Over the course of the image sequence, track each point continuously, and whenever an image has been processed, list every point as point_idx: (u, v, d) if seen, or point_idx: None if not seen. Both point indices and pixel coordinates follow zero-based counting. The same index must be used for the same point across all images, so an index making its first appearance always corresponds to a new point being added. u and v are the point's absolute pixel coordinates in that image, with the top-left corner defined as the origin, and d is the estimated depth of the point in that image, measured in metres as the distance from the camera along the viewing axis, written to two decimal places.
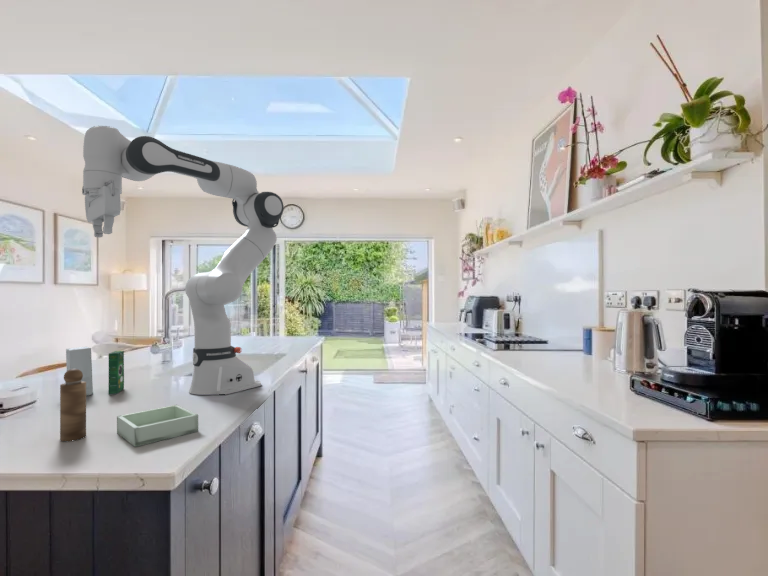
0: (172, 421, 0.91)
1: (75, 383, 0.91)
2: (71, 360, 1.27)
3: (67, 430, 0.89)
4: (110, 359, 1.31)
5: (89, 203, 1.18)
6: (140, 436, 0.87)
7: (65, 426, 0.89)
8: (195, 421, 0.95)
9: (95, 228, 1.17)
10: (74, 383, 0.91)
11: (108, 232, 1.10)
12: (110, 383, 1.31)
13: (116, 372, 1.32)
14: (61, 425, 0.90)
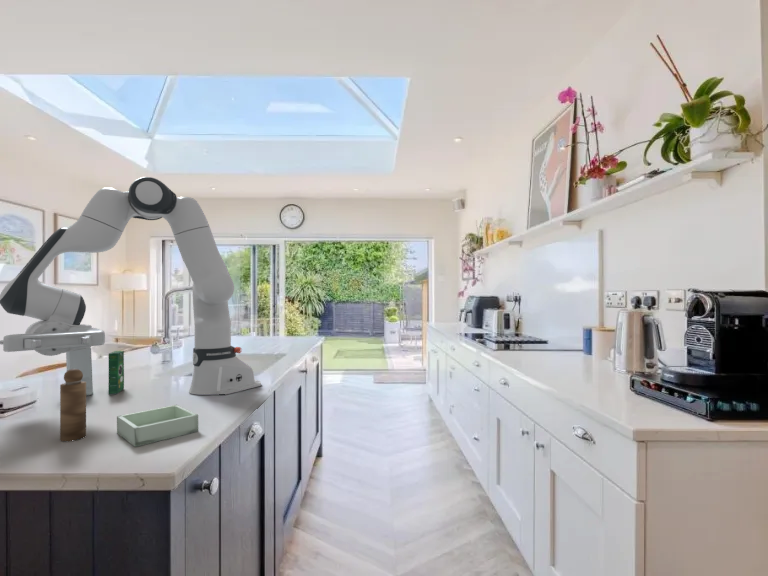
0: (172, 421, 0.91)
1: (75, 383, 0.91)
2: (71, 360, 1.27)
3: (67, 430, 0.89)
4: (110, 359, 1.31)
5: None
6: (140, 436, 0.87)
7: (65, 426, 0.89)
8: (195, 421, 0.95)
9: None
10: (74, 383, 0.91)
11: (33, 344, 0.96)
12: (110, 383, 1.31)
13: (116, 372, 1.32)
14: (61, 425, 0.90)
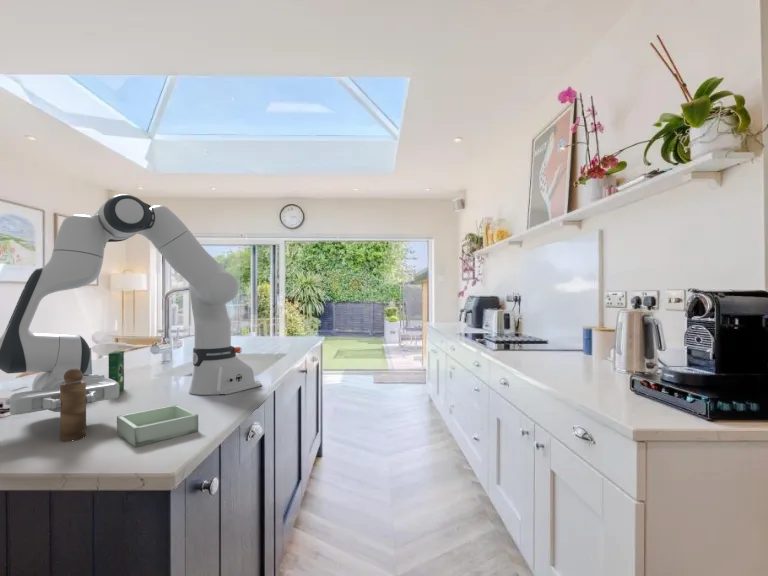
0: (172, 421, 0.91)
1: (75, 383, 0.91)
2: None
3: (67, 430, 0.89)
4: (110, 359, 1.31)
5: None
6: (140, 436, 0.87)
7: (65, 426, 0.89)
8: (195, 421, 0.95)
9: None
10: (74, 383, 0.91)
11: (52, 405, 0.89)
12: None
13: (116, 372, 1.32)
14: (61, 425, 0.90)
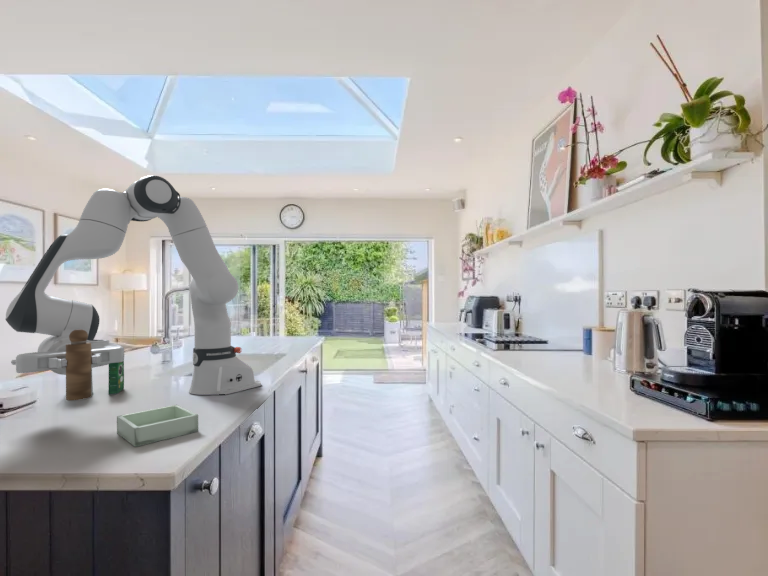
0: (172, 421, 0.91)
1: (80, 343, 0.91)
2: None
3: (72, 389, 0.90)
4: None
5: None
6: (140, 436, 0.87)
7: (71, 385, 0.90)
8: (195, 421, 0.95)
9: None
10: (79, 343, 0.91)
11: (58, 364, 0.89)
12: (110, 383, 1.31)
13: (116, 372, 1.32)
14: (67, 384, 0.90)
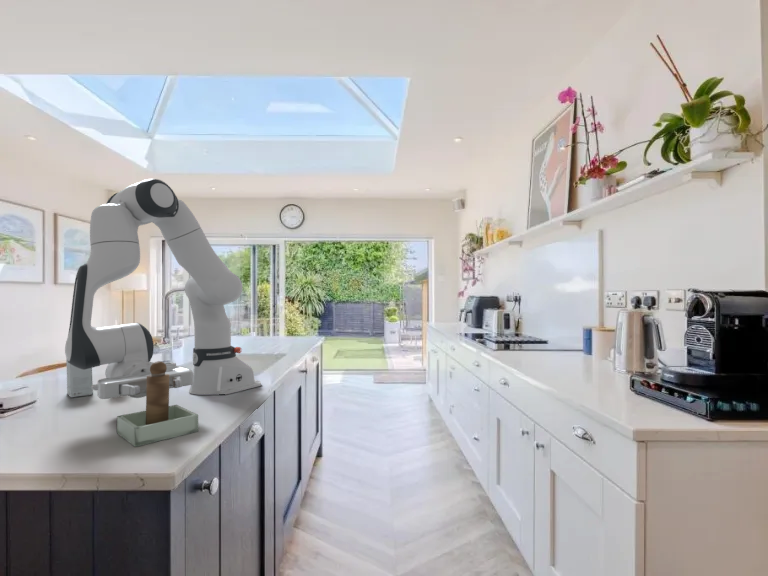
0: (172, 421, 0.91)
1: (160, 375, 0.95)
2: None
3: (153, 420, 0.93)
4: None
5: None
6: (140, 436, 0.87)
7: (152, 416, 0.93)
8: (195, 421, 0.95)
9: None
10: (160, 375, 0.95)
11: (132, 391, 0.91)
12: None
13: None
14: (147, 415, 0.93)
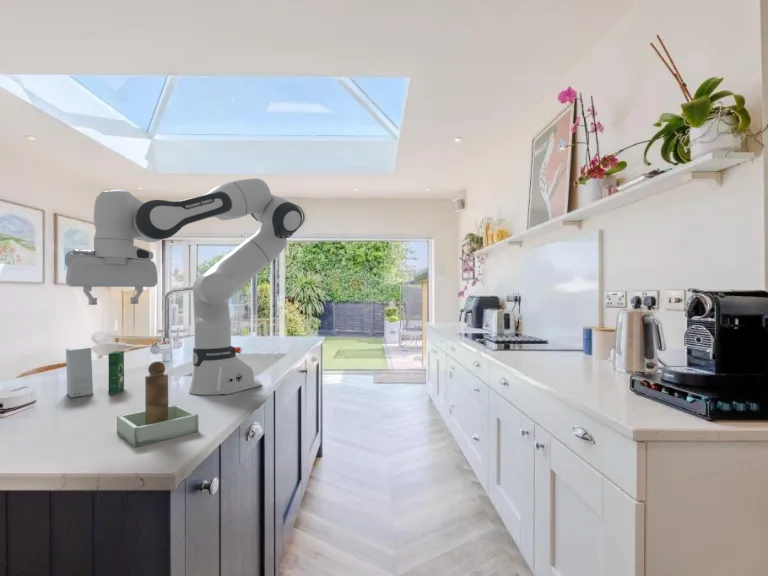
0: (172, 421, 0.91)
1: (159, 375, 0.95)
2: (71, 360, 1.27)
3: (153, 420, 0.93)
4: (110, 359, 1.31)
5: None
6: (140, 436, 0.87)
7: (151, 416, 0.93)
8: (195, 421, 0.95)
9: (135, 294, 1.13)
10: (158, 375, 0.95)
11: (89, 303, 1.05)
12: (110, 383, 1.31)
13: (116, 372, 1.32)
14: (147, 415, 0.93)
